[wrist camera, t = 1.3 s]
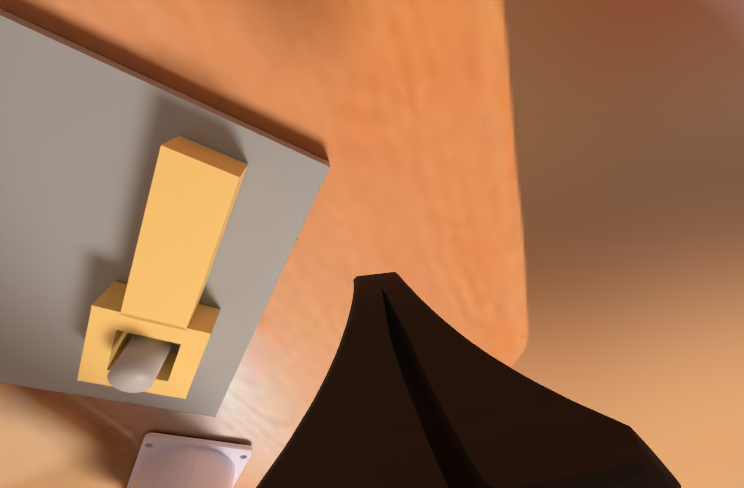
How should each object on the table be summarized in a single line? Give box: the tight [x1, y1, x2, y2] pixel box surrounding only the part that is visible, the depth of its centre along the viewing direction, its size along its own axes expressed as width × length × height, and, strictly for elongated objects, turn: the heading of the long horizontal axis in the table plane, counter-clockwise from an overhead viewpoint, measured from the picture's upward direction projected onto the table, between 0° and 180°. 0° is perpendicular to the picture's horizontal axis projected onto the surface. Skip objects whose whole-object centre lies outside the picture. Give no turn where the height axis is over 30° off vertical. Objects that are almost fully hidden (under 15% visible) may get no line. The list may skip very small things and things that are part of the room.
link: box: [77, 136, 248, 399], centre depth 17 cm, size 14×5×2 cm, turn 152°
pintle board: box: [0, 9, 330, 417], centre depth 15 cm, size 20×17×6 cm
